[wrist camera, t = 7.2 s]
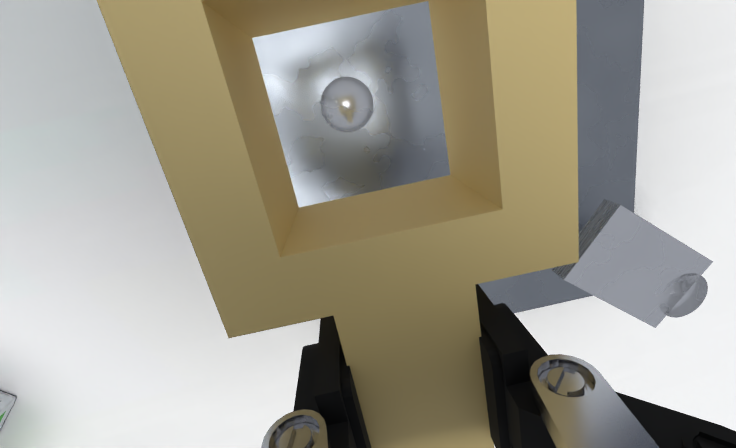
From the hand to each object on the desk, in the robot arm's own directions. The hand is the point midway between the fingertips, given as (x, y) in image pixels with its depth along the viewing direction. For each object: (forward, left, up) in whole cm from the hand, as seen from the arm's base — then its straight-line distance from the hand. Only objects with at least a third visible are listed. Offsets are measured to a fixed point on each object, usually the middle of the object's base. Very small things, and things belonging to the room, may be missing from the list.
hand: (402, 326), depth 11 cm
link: (-1, 0, 0) cm, 1 cm away
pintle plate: (-2, +6, -11) cm, 13 cm away
